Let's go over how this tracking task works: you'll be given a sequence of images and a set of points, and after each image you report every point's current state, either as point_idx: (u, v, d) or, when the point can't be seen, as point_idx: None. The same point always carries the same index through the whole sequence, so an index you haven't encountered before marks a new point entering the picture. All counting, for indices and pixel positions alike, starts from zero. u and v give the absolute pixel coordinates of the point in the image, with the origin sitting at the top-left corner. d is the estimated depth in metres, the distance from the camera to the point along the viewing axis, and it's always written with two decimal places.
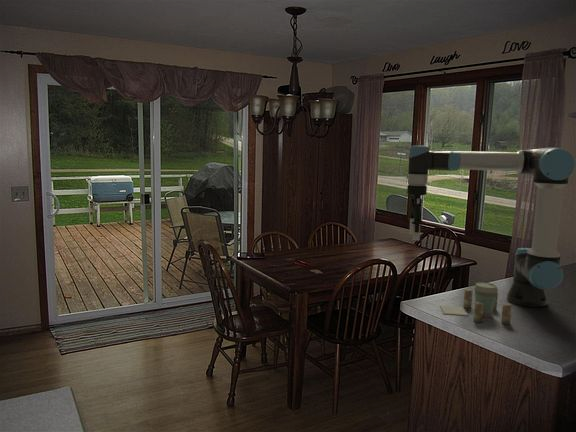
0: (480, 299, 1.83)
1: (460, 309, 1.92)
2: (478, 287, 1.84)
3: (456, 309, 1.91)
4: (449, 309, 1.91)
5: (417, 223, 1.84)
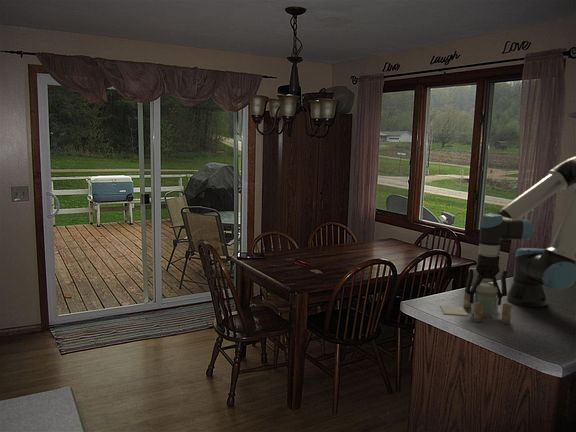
0: (480, 299, 1.83)
1: (460, 309, 1.92)
2: (478, 287, 1.83)
3: (456, 309, 1.91)
4: (449, 309, 1.91)
5: None
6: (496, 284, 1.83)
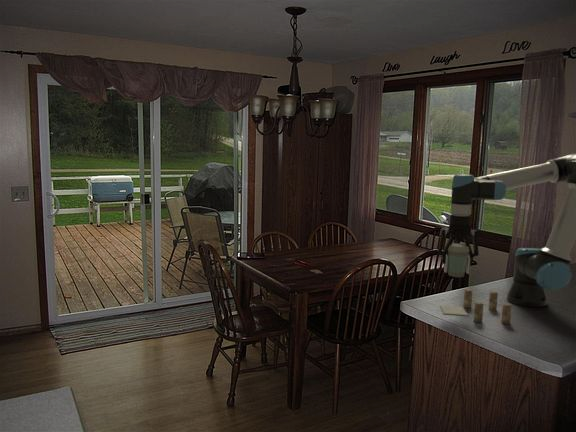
0: (452, 259, 1.85)
1: (460, 309, 1.92)
2: (450, 247, 1.85)
3: (456, 309, 1.91)
4: (449, 309, 1.91)
5: (440, 253, 1.88)
6: (468, 244, 1.85)
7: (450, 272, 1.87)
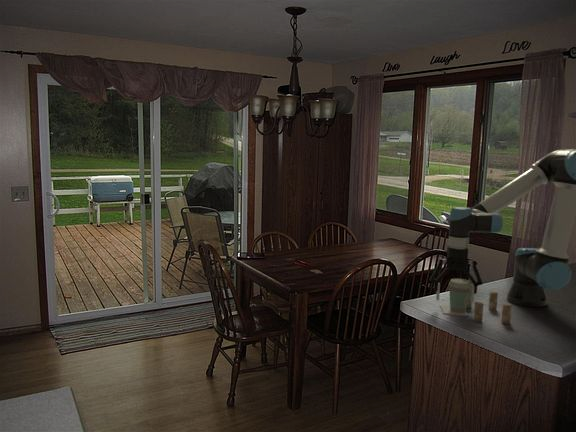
0: (454, 295, 1.87)
1: None
2: (452, 283, 1.87)
3: None
4: (449, 309, 1.91)
5: (432, 281, 1.90)
6: (469, 274, 1.86)
7: (452, 307, 1.88)
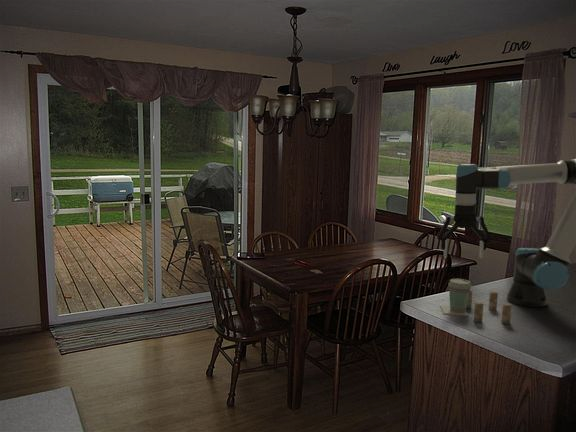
0: (453, 295, 1.87)
1: None
2: (452, 283, 1.87)
3: None
4: (449, 309, 1.91)
5: (439, 239, 1.90)
6: (477, 231, 1.86)
7: (452, 308, 1.88)
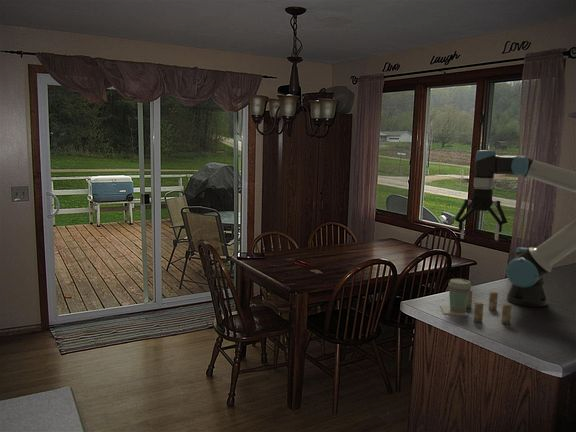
0: (453, 295, 1.87)
1: None
2: (452, 283, 1.87)
3: None
4: (449, 309, 1.91)
5: (457, 221, 2.00)
6: (493, 214, 1.96)
7: (452, 308, 1.88)
